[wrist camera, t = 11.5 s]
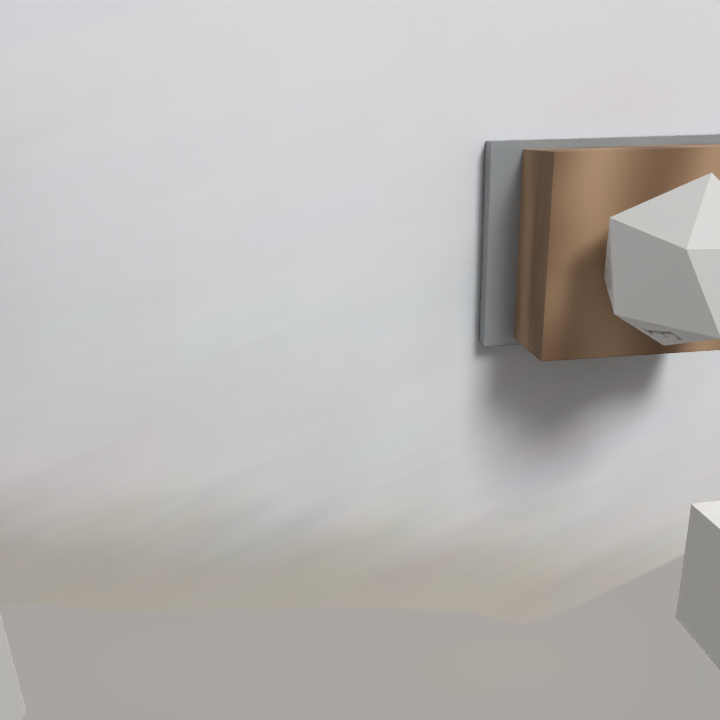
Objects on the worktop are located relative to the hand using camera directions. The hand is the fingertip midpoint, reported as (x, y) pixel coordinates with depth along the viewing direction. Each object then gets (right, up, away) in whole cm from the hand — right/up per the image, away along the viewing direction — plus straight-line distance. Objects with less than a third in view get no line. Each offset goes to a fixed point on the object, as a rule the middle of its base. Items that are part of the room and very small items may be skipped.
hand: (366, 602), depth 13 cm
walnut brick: (+16, +12, +32) cm, 37 cm away
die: (+17, +11, +27) cm, 33 cm away
